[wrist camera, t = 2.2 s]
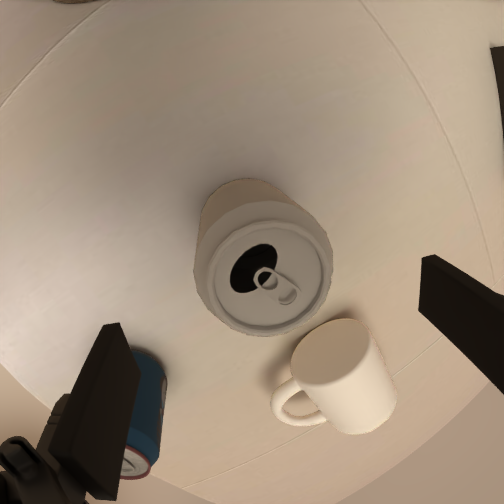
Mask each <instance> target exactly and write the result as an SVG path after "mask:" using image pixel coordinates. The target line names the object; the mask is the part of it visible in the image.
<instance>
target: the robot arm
mask: <svg viewBox="0 0 504 504" xmlns="http://www.w3.org/2000/svg"><path fill="white" fill-rule="evenodd" d="M54 1H57V2H63V3H82V2H88V1H93V0H54ZM418 311H419V312H420V313H421V314H422V315H424V316H425V317H426V318H427V319H428V320H429V321H430V322H431V323H432V324H433V325H434V326H435V327H436V328H437V329H438V330H440V331H441V332H442V333H443V334H444V335H445V336H446V337H447V338H448V339H449V340H450V341H451V342H452V343H453V344H454V345H455V346H456V347H457V348H458V349H459V350H460V351H461V352H462V353H463V354H464V355H465V356H466V357H467V358H468V359H469V360H470V361H471V362H472V363H473V364H474V365H475V366H476V367H477V368H478V369H479V370H480V371H481V372H482V373H483V374H484V375H485V376H486V377H487V378H488V379H489V380H490V381H491V382H492V383H493V384H494V385H495V386H496V387H497V388H498V389H499V390H500V391H501V392H502V393H503V394H504V295H501V294H498V293H495V292H494V291H492V290H491V289H489V288H488V287H486V286H485V285H483V284H482V283H480V282H479V281H477V280H476V279H474V278H472V277H471V276H469V275H468V274H466V273H465V272H463V271H461V270H460V269H458V268H457V267H455V266H453V265H452V264H450V263H448V262H447V261H445V260H443V259H442V258H440V257H438V256H437V255H435V254H434V255H430V256H426V257H423V258H422V264H421V283H420V297H419V308H418ZM141 374H142V373H141V371H140V369H139V367H138V365H137V362H136V360H135V358H134V356H133V354H132V351H131V349H130V347H129V344H128V342H127V340H126V337H125V335H124V333H123V330H122V328H121V325H120V323H113V324H106V325H103V327H102V329H101V330H100V332H99V334H98V336H97V338H96V340H95V342H94V344H93V346H92V348H91V351H90V353H89V355H88V357H87V359H86V361H85V363H84V365H83V367H82V369H81V371H80V374H79V376H78V378H77V380H76V382H75V385H74V387H73V389H72V391H71V394H64V395H63V396H62V397H61V398H60V399H59V400H58V401H57V402H56V404H55V406H54V408H53V410H52V412H51V416H50V417H49V419H48V421H47V425H46V426H45V428H44V431H43V433H42V436H41V438H40V440H39V443H38V445H37V448H36V450H35V449H34V448H33V447H32V445H31V444H30V443H29V442H28V441H27V440H26V439H25V438H23V437H21V436H14V437H11V438H9V439H7V440H6V441H4V442H3V443H2V444H1V446H0V465H1V466H2V467H3V468H4V469H5V470H6V471H1V472H0V504H89V503H88V502H87V501H86V500H85V495H86V491H87V492H88V493H89V494H91V495H92V496H93V497H94V498H95V499H98V500H109V501H116V499H117V493H118V487H119V480H120V475H121V469H122V463H123V458H124V453H125V447H126V442H127V437H128V432H129V427H130V422H131V418H132V413H133V409H134V404H135V400H136V395H137V391H138V387H139V382H140V378H141Z"/></svg>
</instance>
